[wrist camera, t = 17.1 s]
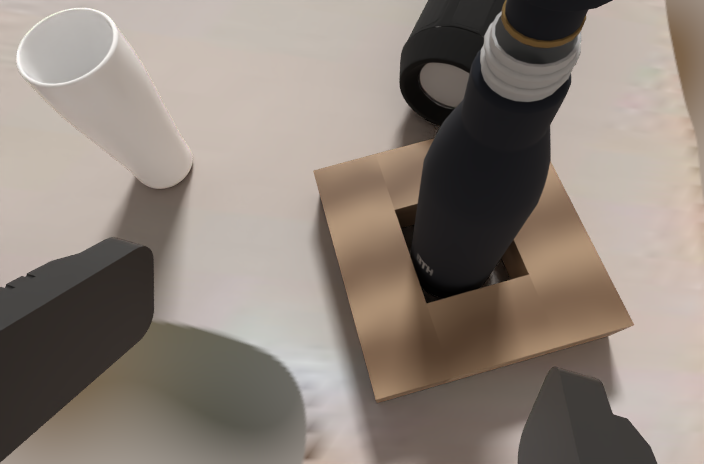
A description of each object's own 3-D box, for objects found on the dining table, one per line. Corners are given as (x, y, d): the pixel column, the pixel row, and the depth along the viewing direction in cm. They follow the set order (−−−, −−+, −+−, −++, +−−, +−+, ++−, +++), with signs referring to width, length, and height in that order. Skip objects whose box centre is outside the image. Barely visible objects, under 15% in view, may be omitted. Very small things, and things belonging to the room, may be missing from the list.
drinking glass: (151, 212, 42) (37, 106, 28) (118, 162, 45) (-3, 41, 31) (216, 170, 43) (136, 48, 30) (180, 123, 46) (91, -10, 32)
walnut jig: (319, 193, 42) (313, 170, 38) (514, 141, 42) (526, 113, 39) (376, 403, 35) (375, 399, 31) (608, 335, 35) (634, 325, 32)
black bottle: (496, 236, 39) (764, -228, 11) (480, 309, 37) (763, -47, 9) (420, 216, 40) (497, -250, 13) (400, 286, 38) (439, -93, 10)
